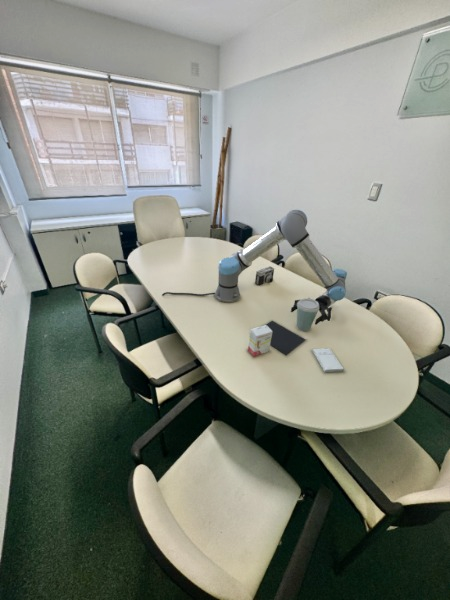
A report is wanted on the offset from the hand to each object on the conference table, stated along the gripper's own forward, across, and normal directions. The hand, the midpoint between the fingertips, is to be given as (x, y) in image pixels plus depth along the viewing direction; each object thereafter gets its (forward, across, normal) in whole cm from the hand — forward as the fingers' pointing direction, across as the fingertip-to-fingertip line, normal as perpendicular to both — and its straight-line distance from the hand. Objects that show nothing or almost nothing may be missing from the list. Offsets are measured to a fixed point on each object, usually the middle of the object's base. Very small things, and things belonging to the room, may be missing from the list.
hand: (303, 315), depth 119 cm
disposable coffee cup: (-2, 0, -8) cm, 9 cm away
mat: (+14, +4, -8) cm, 16 cm away
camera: (-27, +44, -8) cm, 52 cm away
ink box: (+29, +4, -8) cm, 30 cm away
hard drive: (+11, -20, -8) cm, 24 cm away
